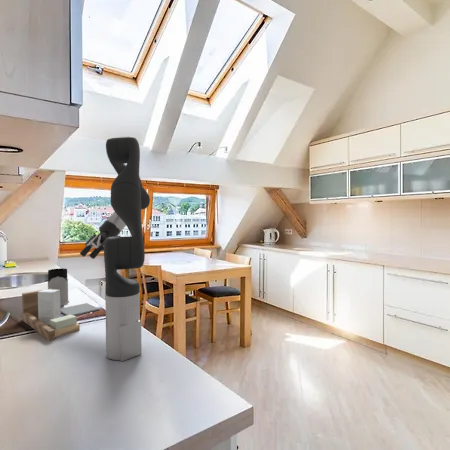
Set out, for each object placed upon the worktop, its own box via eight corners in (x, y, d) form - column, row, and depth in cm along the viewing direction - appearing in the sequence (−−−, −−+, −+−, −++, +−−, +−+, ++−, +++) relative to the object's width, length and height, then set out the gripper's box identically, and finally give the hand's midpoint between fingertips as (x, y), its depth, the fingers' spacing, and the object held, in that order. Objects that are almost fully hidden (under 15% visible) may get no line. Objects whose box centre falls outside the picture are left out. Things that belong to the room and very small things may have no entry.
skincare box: (61, 321, 116) (60, 289, 116) (53, 325, 112) (53, 292, 111) (45, 321, 117) (45, 289, 116) (37, 325, 112) (37, 291, 112)
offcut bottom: (79, 331, 108) (79, 324, 108) (54, 338, 102) (54, 330, 102) (73, 328, 111) (73, 321, 111) (48, 334, 105) (48, 327, 105)
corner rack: (82, 331, 106) (81, 302, 106) (49, 340, 98) (48, 309, 98) (51, 313, 125) (51, 288, 125) (21, 319, 118) (21, 293, 117)
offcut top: (76, 323, 108) (76, 316, 108) (56, 329, 102) (55, 322, 102) (70, 321, 110) (70, 314, 110) (50, 327, 105) (49, 319, 105)
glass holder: (46, 307, 133) (45, 272, 133) (47, 299, 146) (47, 267, 145) (69, 304, 137) (69, 270, 137) (68, 297, 150) (68, 265, 149)
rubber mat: (99, 310, 130) (99, 308, 130) (69, 317, 121) (69, 315, 121) (86, 304, 138) (86, 303, 138) (57, 310, 129) (57, 309, 129)
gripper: (99, 219, 134) (71, 248, 126) (116, 220, 124) (87, 251, 117) (111, 231, 138) (85, 260, 130) (128, 233, 129) (101, 264, 121)
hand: (86, 256), depth 123 cm, fingers open, 8 cm apart
